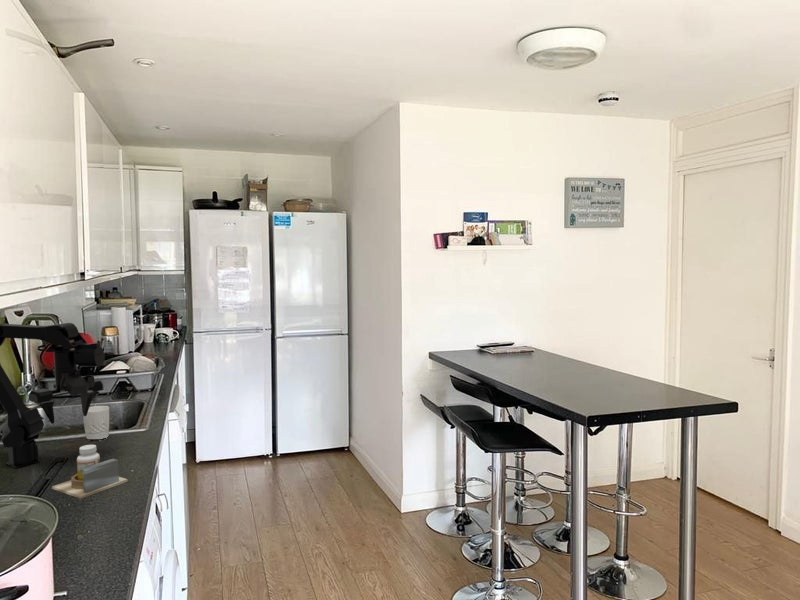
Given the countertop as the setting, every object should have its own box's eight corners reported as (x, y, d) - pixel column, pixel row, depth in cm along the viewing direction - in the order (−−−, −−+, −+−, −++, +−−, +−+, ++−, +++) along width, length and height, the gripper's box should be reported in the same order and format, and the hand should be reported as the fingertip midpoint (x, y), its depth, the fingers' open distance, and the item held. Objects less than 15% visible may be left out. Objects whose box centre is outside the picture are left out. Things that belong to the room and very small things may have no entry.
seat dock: (51, 488, 156) (50, 464, 155) (99, 472, 167) (97, 450, 166) (80, 498, 149) (78, 473, 149) (127, 481, 160) (126, 458, 160)
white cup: (116, 435, 201) (114, 406, 200) (97, 443, 194) (95, 412, 193) (97, 433, 204) (96, 405, 203) (78, 440, 196) (76, 410, 195)
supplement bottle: (89, 477, 161) (87, 442, 161) (105, 480, 160) (103, 444, 159) (73, 485, 156) (71, 449, 156) (89, 487, 155) (87, 451, 154)
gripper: (45, 375, 160) (49, 432, 162) (112, 364, 176) (115, 416, 177) (26, 371, 167) (29, 426, 168) (92, 360, 182) (95, 410, 183)
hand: (69, 419), depth 174 cm, fingers open, 9 cm apart
